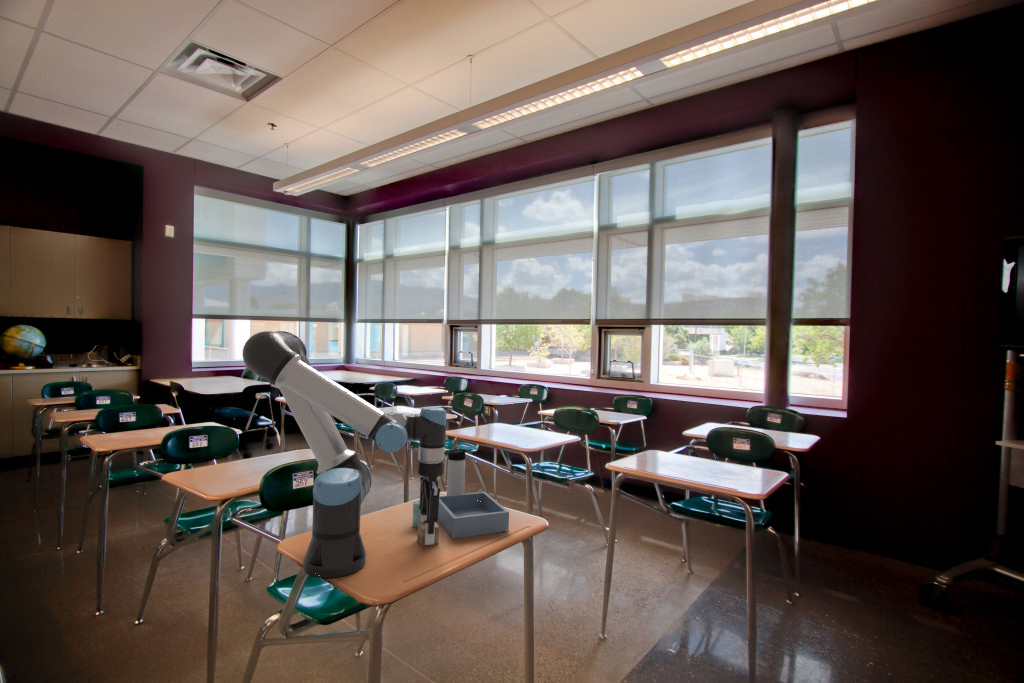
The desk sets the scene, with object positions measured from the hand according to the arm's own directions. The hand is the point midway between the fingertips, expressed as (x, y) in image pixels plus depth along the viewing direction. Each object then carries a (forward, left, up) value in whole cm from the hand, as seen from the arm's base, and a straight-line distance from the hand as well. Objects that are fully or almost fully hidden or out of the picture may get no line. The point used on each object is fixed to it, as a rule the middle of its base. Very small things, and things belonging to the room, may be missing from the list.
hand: (426, 540), depth 142 cm
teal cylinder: (+1, +13, 0) cm, 13 cm away
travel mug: (+17, +27, -1) cm, 32 cm away
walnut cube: (0, 0, -1) cm, 1 cm away
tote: (+17, +10, 0) cm, 20 cm away
